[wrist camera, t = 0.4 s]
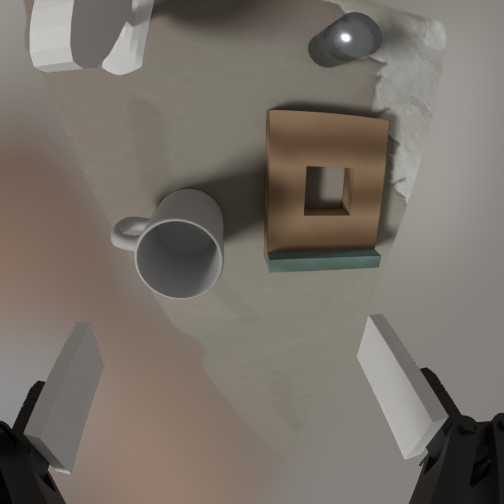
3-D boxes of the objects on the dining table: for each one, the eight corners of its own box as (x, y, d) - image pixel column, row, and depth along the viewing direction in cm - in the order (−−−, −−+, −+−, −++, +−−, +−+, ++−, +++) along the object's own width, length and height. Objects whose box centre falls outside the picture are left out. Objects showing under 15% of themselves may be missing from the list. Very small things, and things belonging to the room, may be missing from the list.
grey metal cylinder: (308, 31, 30) (336, 8, 21) (343, 36, 30) (380, 17, 21) (308, 65, 32) (337, 50, 23) (343, 69, 32) (381, 59, 23)
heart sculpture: (123, -28, 24) (67, -97, 7) (162, -31, 24) (126, -110, 8) (100, 83, 30) (12, 71, 14) (139, 82, 31) (70, 62, 14)
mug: (229, 194, 37) (232, 226, 28) (216, 258, 41) (216, 307, 31) (131, 178, 35) (100, 204, 25) (126, 243, 39) (99, 287, 29)
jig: (266, 110, 34) (273, 109, 29) (377, 119, 35) (397, 121, 30) (263, 254, 41) (269, 272, 37) (363, 250, 42) (378, 267, 38)
